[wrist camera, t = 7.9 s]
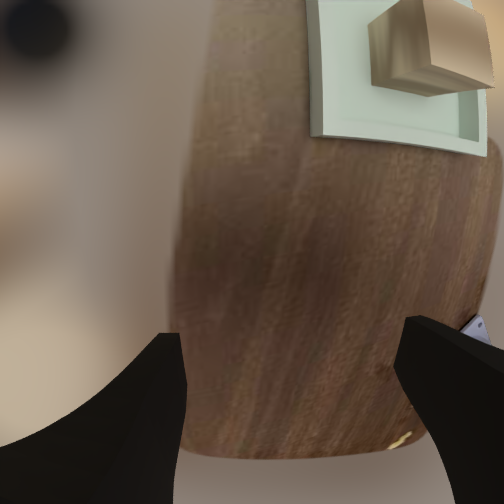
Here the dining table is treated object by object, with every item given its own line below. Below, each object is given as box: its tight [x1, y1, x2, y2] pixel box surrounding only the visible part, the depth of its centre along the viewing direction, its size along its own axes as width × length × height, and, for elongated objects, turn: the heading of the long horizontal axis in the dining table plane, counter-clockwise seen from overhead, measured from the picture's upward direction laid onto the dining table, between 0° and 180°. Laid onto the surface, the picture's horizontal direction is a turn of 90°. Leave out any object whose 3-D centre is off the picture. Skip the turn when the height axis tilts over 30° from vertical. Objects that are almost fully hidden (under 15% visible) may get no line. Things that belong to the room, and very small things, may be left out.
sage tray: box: [306, 0, 487, 157], centre depth 14 cm, size 11×11×2 cm
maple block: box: [367, 0, 495, 97], centre depth 12 cm, size 4×4×6 cm
